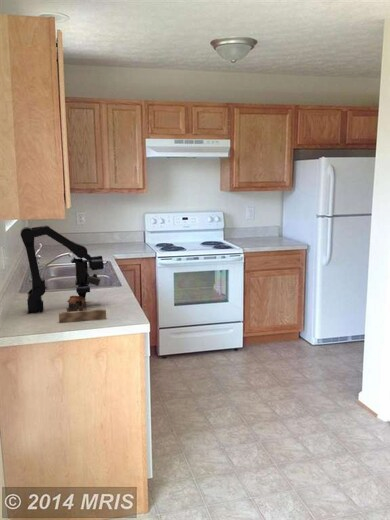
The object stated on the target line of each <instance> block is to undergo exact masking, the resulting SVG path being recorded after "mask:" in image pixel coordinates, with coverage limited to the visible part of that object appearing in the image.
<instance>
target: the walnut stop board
mask: <svg viewBox="0 0 390 520" xmlns="http://www.w3.org/2000/svg"><path fill="white" fill-rule="evenodd" d="M106 319H107V310H106V308H101V309H99V308H98V309H87V310H82V311H80V310H78V311H73V312H67V311H63V312H61V311H60V312H58V322H59V324H62V323H72V322H74V323H75V322H83V321H84V322H85V321H96V320H106Z"/></svg>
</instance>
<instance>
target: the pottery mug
mask: <svg viewBox="0 0 390 520" xmlns="http://www.w3.org/2000/svg"><path fill="white" fill-rule="evenodd" d="M66 302H67V303H68V307H66V312H73V311H84V310H85V309H86V308H87V298H86V297H85V298H84V297H81V296H79V295H70V296H69V299H68V300H67V301H66Z"/></svg>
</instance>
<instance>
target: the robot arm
mask: <svg viewBox="0 0 390 520" xmlns="http://www.w3.org/2000/svg"><path fill="white" fill-rule="evenodd" d="M41 236H47V237H49V238H51V239H52V240H54V241H55V242H57V243H59V244H60V245H62V246H64V247H65V248H67V249H68V250H69V251H70V252H71V253H73V255H75V256H76V257H77V258H75V256H74V257H73V258H72V259H71V260H70V262H71V264H75V265H74V268H75V269H74V270H75V286H76V288H75V290H76V292H75V293H76V294H77V296H81V297H84V298H85V299H86V296H87V293H91V287H90V284H91V285H95V286H97V287H98V286H99V285H100V282H101V278H100V277H99V276H98V274H96V273H93V274H92V275H90V274H89V271H88V270H89V269H90V270H91V271H100V270H101V271H102V270H104V268H105V266H104V260H103V256H102V255H97V256H96V255H95V256H92V255H91V254H88V249H87V247H85V246H84V245H83V244H80V243H78V242H75V241H73V240H71V239H69V238H67V237H66V236H64V235H62V234H61V233H59V232H58V231H56V230H55V229H53V228H52V227H50V226H49V225H48V224H47V225H46V224H45V225H42V226H35V227H30V226H25V227H22V228H21V229H20V238H21V239H22V242H23V245H24V247H25V249H26V250H25V251H26V255H27V260H28V264H29V269H30V275H31V288H30V290H29V291H27V300H26V301H27V314H39V313H40V314H41V313H43V312H44V308H45V306H44V304H45V303H44V300H43V298H42V297H43V295H45V293H46V289H47V285H46V279H45V277H42V276H41V275H40V270H39V266H38V265H39V264H38V260H37V256H36V255H37V254H36V251H35V250H36V249H35V238H37V237H41Z"/></svg>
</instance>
